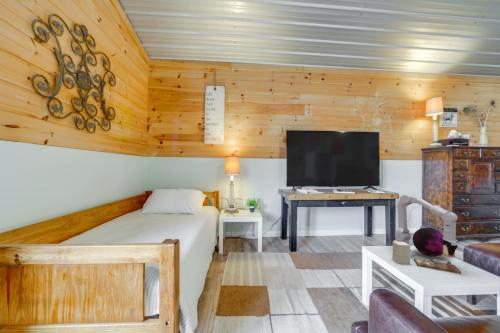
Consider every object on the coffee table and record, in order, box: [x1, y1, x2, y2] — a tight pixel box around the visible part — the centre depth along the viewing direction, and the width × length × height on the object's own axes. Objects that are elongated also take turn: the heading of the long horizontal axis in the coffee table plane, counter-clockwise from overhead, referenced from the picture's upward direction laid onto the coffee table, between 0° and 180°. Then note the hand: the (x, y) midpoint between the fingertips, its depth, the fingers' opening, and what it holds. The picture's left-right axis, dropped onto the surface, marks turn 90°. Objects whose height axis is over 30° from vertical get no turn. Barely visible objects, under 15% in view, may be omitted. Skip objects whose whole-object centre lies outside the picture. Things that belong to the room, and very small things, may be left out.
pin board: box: [413, 257, 462, 275], centre depth 140 cm, size 21×11×4 cm, turn 64°
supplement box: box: [391, 240, 411, 265], centre depth 146 cm, size 7×7×13 cm
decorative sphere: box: [412, 227, 444, 258], centre depth 159 cm, size 20×20×20 cm
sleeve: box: [442, 245, 456, 259], centre depth 137 cm, size 5×5×6 cm
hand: (449, 253), depth 137 cm, fingers closed on sleeve, 5 cm apart
